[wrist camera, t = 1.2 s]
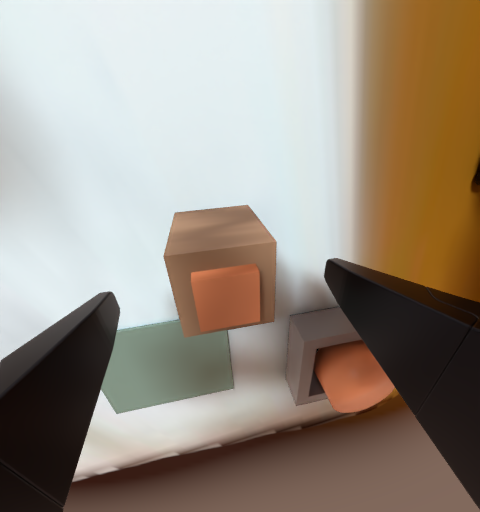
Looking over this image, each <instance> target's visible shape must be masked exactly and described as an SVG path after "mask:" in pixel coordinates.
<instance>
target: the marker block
mask: <svg viewBox="0 0 480 512" xmlns="http://www.w3.org/2000/svg"><path fill="white" fill-rule="evenodd" d="M164 260H165V264H166V268H167V272H168V276H169V280H170V284H171V288H172V291H173V295H174V299H175V303H176V307H177V311H178V315H179V319H180V323H181V327H182V330H183V334H184V338H186V337H191V336H197V335H202V334H208V333H214V332H219V331H225V330H230V329H236V328H241V327H247V326H252V325H258V324H264V323H269V322H274V310H275V275H276V240H275V239H274V238H273V237H272V235H271V234H270V233H269V231H268V230H267V229H266V228H265V226H264V225H263V224H262V222H261V221H260V220H259V219H258V217H257V216H256V215H255V214H254V212H253V211H252V210H251V208H250V207H249V206H248V205H243V206H233V207H224V208H215V209H205V210H196V211H186V212H177V213H175V214H174V218H173V222H172V226H171V229H170V233H169V237H168V241H167V245H166V249H165V253H164Z"/></svg>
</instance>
